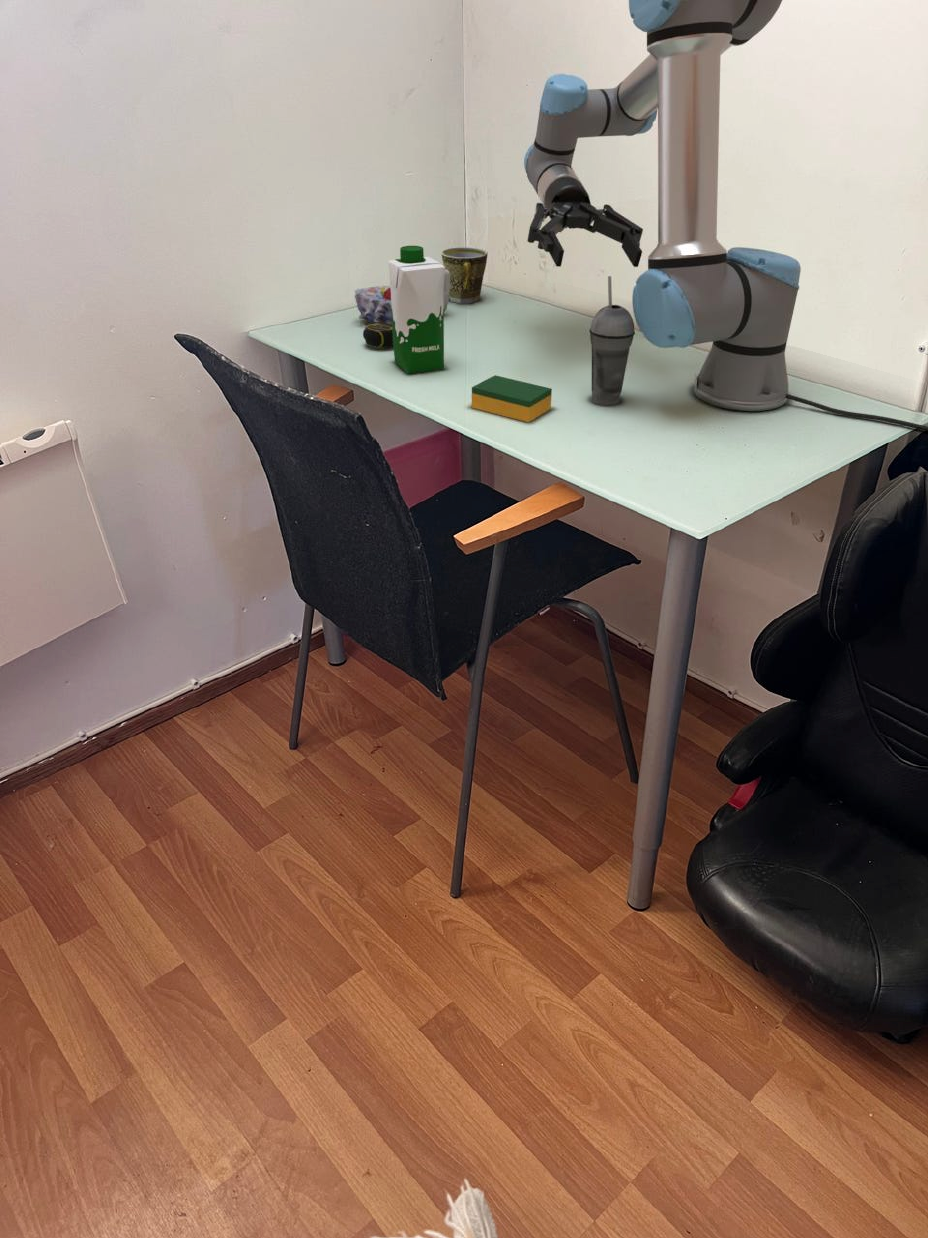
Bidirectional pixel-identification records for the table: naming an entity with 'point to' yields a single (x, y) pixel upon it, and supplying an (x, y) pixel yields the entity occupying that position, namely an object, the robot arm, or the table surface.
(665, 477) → the table surface
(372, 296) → the cell model
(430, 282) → the milk carton
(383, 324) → the tape measure
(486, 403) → the sponge
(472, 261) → the ceramic cup
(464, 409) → the table surface
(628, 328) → the beverage cup
